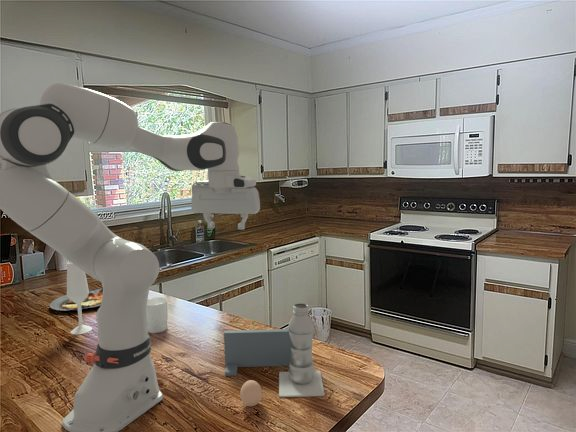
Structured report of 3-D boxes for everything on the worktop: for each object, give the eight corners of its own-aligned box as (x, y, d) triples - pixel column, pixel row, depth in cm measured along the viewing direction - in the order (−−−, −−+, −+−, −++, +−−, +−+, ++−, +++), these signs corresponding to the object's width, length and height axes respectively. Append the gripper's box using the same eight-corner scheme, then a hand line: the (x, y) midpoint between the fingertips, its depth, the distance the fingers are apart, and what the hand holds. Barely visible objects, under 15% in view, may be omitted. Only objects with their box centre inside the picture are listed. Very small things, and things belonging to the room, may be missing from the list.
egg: (245, 396, 98) (244, 374, 97) (265, 400, 97) (264, 377, 96) (237, 409, 93) (236, 385, 92) (257, 412, 92) (257, 388, 91)
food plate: (121, 290, 181) (120, 282, 180) (116, 308, 159) (115, 300, 158) (58, 298, 173) (57, 290, 173) (44, 319, 151) (43, 310, 151)
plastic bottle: (297, 371, 109) (296, 299, 106) (319, 378, 105) (318, 304, 102) (283, 382, 103) (282, 307, 101) (306, 390, 99) (304, 312, 97)
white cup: (173, 328, 139) (171, 300, 137) (152, 336, 133) (150, 307, 132) (161, 322, 144) (159, 295, 143) (140, 329, 138) (138, 301, 137)
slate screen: (305, 373, 108) (305, 338, 107) (223, 375, 108) (221, 340, 106) (304, 362, 114) (303, 328, 113) (226, 364, 114) (224, 330, 112)
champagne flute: (83, 335, 135) (76, 264, 131) (65, 333, 136) (58, 264, 133) (96, 326, 141) (90, 259, 138) (79, 325, 143) (73, 259, 139)
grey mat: (324, 396, 98) (324, 394, 98) (279, 397, 98) (278, 395, 97) (320, 372, 109) (320, 370, 109) (279, 373, 108) (279, 371, 108)
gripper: (185, 181, 115) (188, 229, 117) (253, 181, 109) (255, 231, 111) (196, 180, 121) (199, 226, 123) (261, 180, 115) (262, 227, 117)
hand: (226, 228), depth 117 cm, fingers open, 8 cm apart
